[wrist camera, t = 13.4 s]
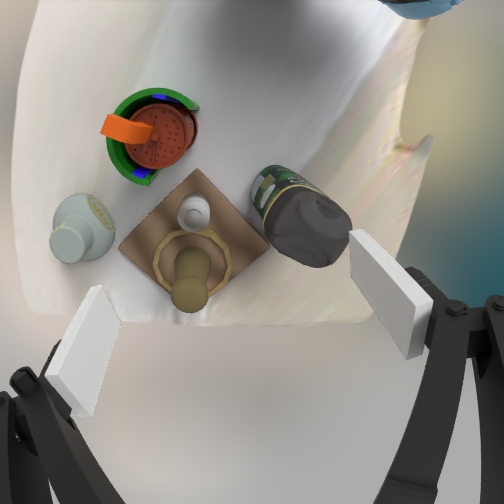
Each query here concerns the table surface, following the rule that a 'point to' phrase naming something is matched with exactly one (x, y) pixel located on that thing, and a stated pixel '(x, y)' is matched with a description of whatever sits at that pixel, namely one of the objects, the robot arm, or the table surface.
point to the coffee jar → (300, 217)
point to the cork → (191, 279)
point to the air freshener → (81, 230)
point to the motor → (149, 133)
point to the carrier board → (194, 234)
